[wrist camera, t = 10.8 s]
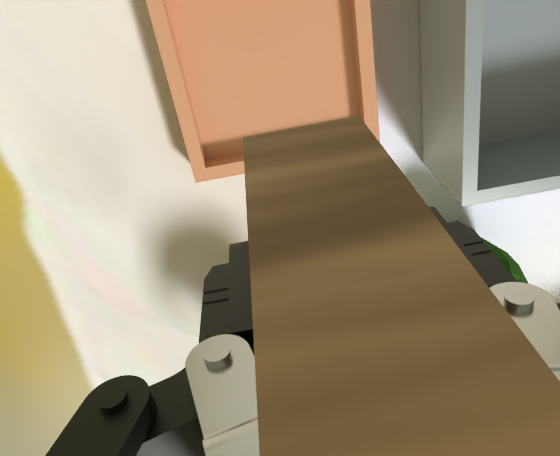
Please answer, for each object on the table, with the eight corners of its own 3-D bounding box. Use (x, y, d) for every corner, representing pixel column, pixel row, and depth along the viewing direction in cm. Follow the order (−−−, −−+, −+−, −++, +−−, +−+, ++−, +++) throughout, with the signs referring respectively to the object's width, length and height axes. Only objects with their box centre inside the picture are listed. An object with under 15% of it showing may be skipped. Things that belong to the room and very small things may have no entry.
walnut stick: (242, 137, 17) (289, 1010, 3) (358, 115, 17) (953, 901, 3) (264, 236, 19) (350, 1040, 5) (367, 217, 19) (747, 973, 5)
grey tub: (417, -61, 33) (467, -64, 26) (658, -107, 33) (773, -122, 26) (422, 162, 41) (462, 206, 34) (616, 126, 41) (695, 163, 34)
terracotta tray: (144, -27, 32) (138, -25, 30) (356, -67, 32) (365, -68, 30) (197, 169, 39) (195, 182, 37) (371, 137, 39) (380, 147, 37)
